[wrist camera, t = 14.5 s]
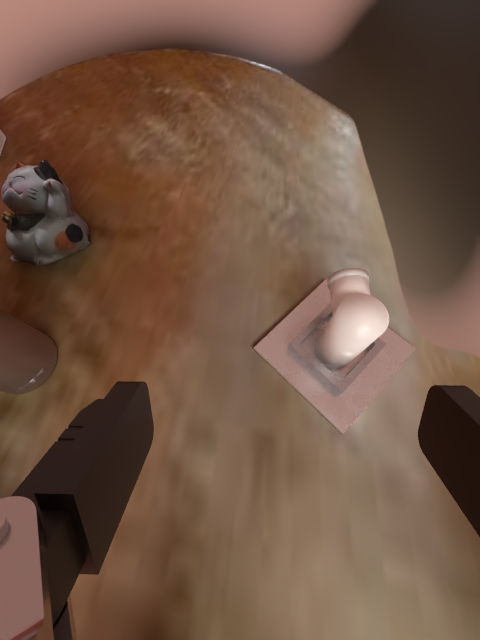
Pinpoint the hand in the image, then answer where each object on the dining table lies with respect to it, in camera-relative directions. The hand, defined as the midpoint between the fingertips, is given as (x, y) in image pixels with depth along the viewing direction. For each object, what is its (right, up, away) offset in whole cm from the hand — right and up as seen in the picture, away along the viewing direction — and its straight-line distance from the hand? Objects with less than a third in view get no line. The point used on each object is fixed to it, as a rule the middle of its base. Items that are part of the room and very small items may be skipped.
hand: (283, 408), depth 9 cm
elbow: (+12, 0, +34) cm, 36 cm away
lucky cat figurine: (-34, +17, +44) cm, 58 cm away
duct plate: (+12, -2, +34) cm, 36 cm away
